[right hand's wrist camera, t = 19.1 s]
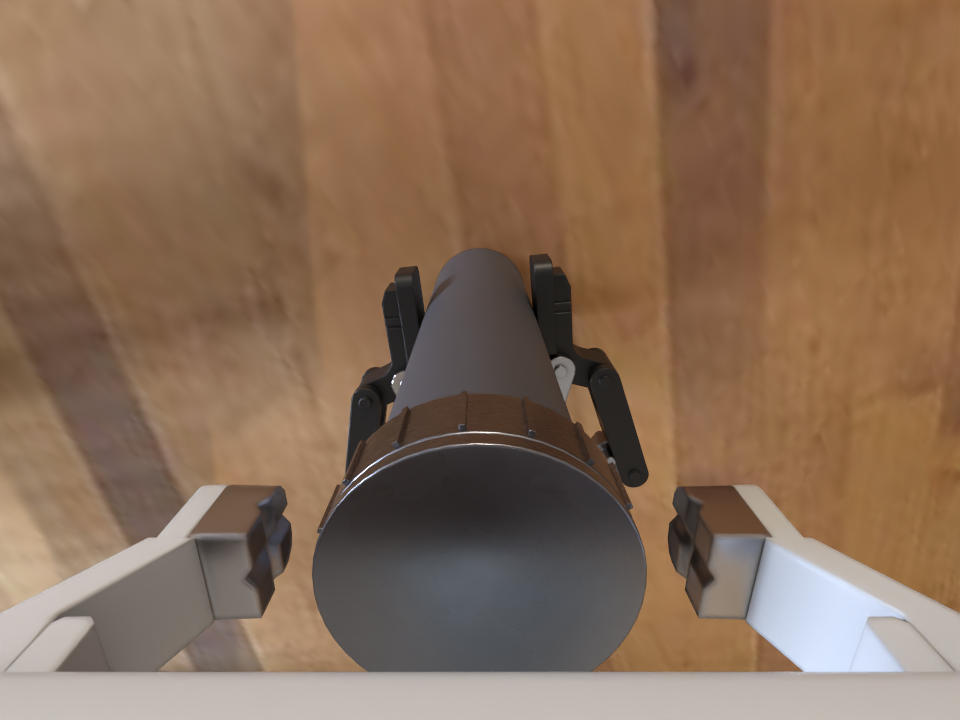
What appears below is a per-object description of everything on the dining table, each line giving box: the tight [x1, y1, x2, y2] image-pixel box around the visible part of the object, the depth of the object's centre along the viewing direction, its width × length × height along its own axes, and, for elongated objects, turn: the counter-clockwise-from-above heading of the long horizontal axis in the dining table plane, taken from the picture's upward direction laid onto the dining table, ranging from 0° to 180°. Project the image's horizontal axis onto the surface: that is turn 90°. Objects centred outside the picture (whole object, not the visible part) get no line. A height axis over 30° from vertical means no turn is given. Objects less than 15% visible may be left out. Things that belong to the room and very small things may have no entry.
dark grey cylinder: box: [388, 248, 572, 422], centre depth 18 cm, size 5×5×20 cm
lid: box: [312, 391, 647, 672], centre depth 10 cm, size 6×6×2 cm
